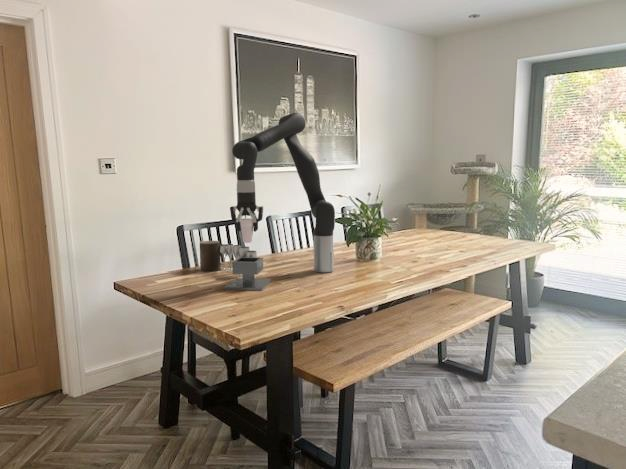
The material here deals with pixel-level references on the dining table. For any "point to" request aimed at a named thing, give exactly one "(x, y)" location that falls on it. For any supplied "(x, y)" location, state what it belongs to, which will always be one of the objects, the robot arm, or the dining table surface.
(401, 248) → the dining table surface
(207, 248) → the pillar candle
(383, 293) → the dining table surface
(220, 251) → the goblet set
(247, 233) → the smoothie
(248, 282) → the stand
